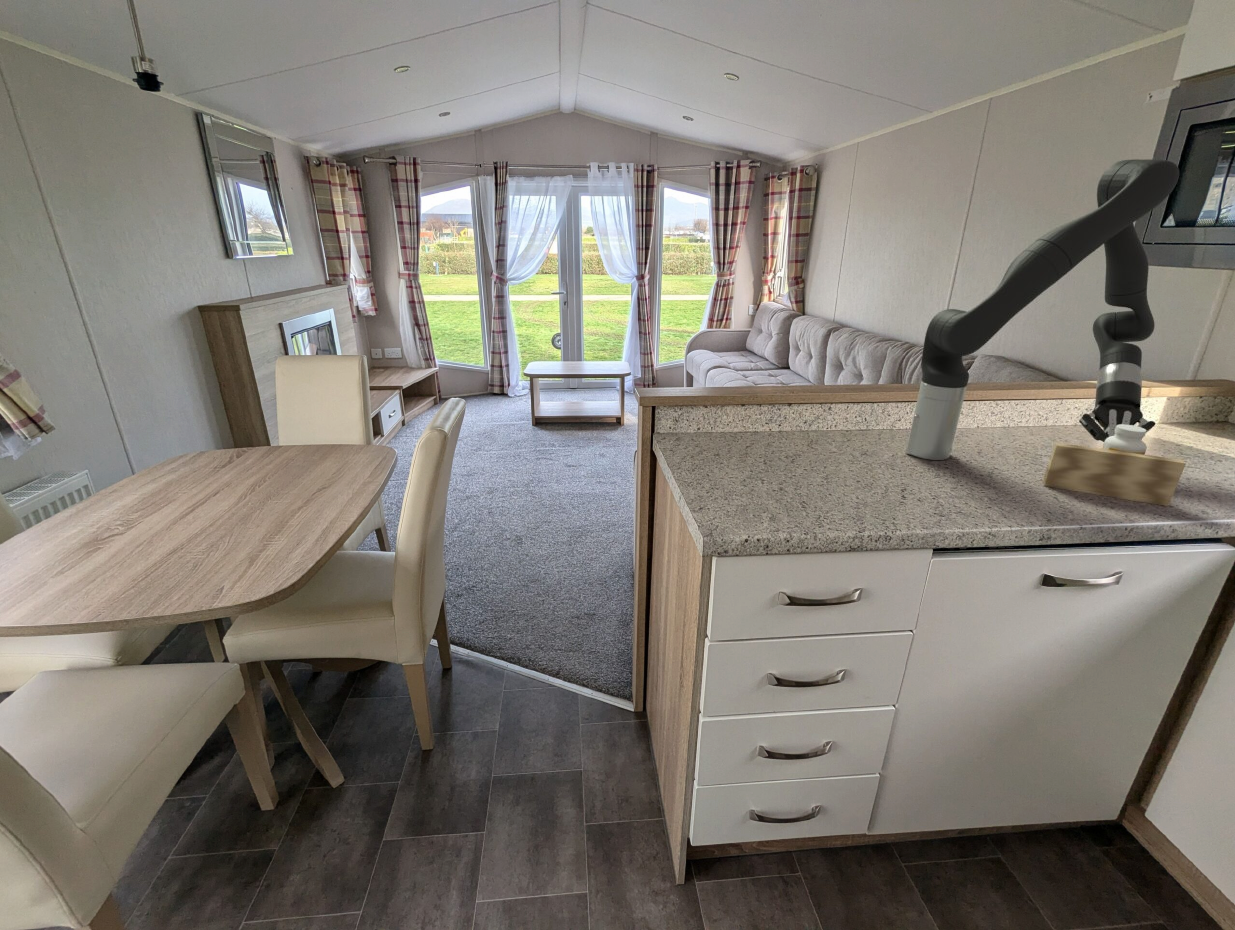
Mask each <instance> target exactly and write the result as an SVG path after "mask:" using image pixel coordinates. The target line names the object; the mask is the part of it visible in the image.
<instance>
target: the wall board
mask: <svg viewBox="0 0 1235 930" xmlns="http://www.w3.org/2000/svg"><path fill="white" fill-rule="evenodd" d="M1186 465H1187V463H1186V462H1185V461H1184V460H1183V459H1179V458H1171V457H1165V456H1164V457H1163V456H1157V455H1150V454H1149V455H1148V454H1144V455H1143V454H1136V453H1128V452H1121V451H1114V450H1106V449H1102V448H1098V447H1090V446H1084V445H1083V446H1082V445H1077V444H1076V445H1075V444H1071V443H1070V444H1069V443H1064V442H1063V443H1061V442H1055V443H1054V445H1053V448H1052V451H1051V455H1050V458H1049V461H1048V464H1047V467H1046V470H1045V472H1044V473H1045V474H1044V476H1043V480H1042V484H1043V486H1044V487H1049V488H1056V489H1062V490H1067V491H1074V492H1079V493H1085V494H1090V495H1091V494H1092V495H1099V496H1103V497H1110V498H1116V499H1122V500H1127V501H1128V500H1129V501H1132V502H1133V501H1135V502H1140V503H1146V504H1152V505H1159V506H1164V507H1169V505H1170V503H1171V500H1172V498H1173V496H1174V493H1175V491H1176V489H1177V486H1178V484H1179V481H1180V479H1181V477H1182V474H1183V472H1184V470H1185V467H1186Z"/></svg>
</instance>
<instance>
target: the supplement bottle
mask: <svg viewBox="0 0 1235 930" xmlns="http://www.w3.org/2000/svg"><path fill="white" fill-rule="evenodd" d="M1137 426H1138V425H1137ZM1137 426H1136V425H1134V426H1133V425H1125V424H1120V425H1117V426H1116V428H1115V435H1114V436H1110V437H1108V438H1107V439H1106V440H1105V441H1104V442H1103V445H1102V447H1101V449H1106V450H1114V451H1121V452H1128V453H1136V454H1143V455H1146V453H1147V452H1146V451H1147V444H1146V442H1144V441H1143V440H1142V439H1143V438H1144V437H1145V436H1146V434H1147V433H1146V429H1144V428H1141V427H1137Z"/></svg>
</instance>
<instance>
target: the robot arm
mask: <svg viewBox="0 0 1235 930" xmlns="http://www.w3.org/2000/svg"><path fill="white" fill-rule="evenodd" d="M1179 177H1180V169H1179V167H1178V164H1176V163H1174V162H1173V161H1170V160H1166V159H1156V158H1155V159H1154V158H1153V159H1148V158H1147V159H1137V158H1134V159H1123V160H1119V161H1117V162H1114V163H1113V164H1112V165H1110V166H1109V167H1108V168H1107V169H1106V170H1105V171H1104V172H1103V174H1102V175H1101V177H1100V179H1099V181H1098V184H1097V188H1096V201H1097V202H1096V203H1097V208H1096V209H1093V211H1091V212H1089V213H1087V214H1084V215H1082V216H1080V217H1078V218H1076V219H1073V220H1071V221H1069V222H1067V223H1065V224H1062V225H1059V226H1058V227H1056V228H1054V229H1052V230H1050V231H1048V232H1046V233H1045V234H1043V235H1041V236H1040V237H1039V238H1038V239H1036V240H1035V241H1033V243H1031V244H1030V245H1029V246H1028V247H1027V248H1026V249H1024V250H1023V251H1022V252H1021V253H1020V254H1019V255H1017V256H1016V257H1015V258H1014V259H1013V261H1012V262H1011V263H1010V265H1009V266H1008V268H1007V269H1006V271H1005V273H1004V276H1003V277H1002V279H1001V282H1000V283H999V285H998V287H997V288H996V289H995V290H994V291H993V292H992V293H991V294H990V295H989V296H988V297H986V298H984V299H983V300H982V301H981V302H980V303H979V304H977V305H976V306H974V307H973V308H971V309H970V310H968V311H966V310H961V309H956V308H948V309H943V310H941V311H939V312H937V314H935V315H934V316H933V317H932V319H931V320H930V322H929V323H928V325H927V326H928V327H927V329H926V332H925V336H924V341H923V342H924V343H923V348H922V354H921V361H920V364H921V365H920V368H921V373H922V374H921V375H922V376H921V381H920V386H919V390H918V395H917V399H916V405H915V409H914V411H913V412H914V413H913V418H912V423H911V427H910V431H909V435H908V436H909V437H908V442H907V447H906V450H905V454H907V455H911V456H914V457H916V458H920V459H924V460H932V461H941V460H947V459H949V458H950V456H951V452H952V449H953V444H954V441H955V438H956V437H955V436H956V432H957V429H958V424H959V420H960V416H961V413H962V408H963V404H964V399H965V395H966V392H967V389H968V383H969V380H970V373H969V371H968V370H967V368H966V367H965V365H964V362H963V357H965V356H969V355H971V354H974V353H975V352H977V351H978V350H980V349H981V348H982V347H984V346H985V345H986V344H987V343H988V342H989V341H990V340H991V339H992V338H993V337H994V336H995V335H997V333H998V332H1000V330H1001V329H1002V328H1004V326H1005V325H1007V323H1008V322H1010V321H1011V319H1013V318H1014V317H1015V316H1016V315H1017V314H1019V313H1020V312H1021V311H1022V310H1023V309H1024V308H1026V307H1027V306H1028V305H1029V304H1031V302H1033V301H1034V300H1035V299H1037V298H1038V297H1039V296H1040V295H1041V294H1043V293H1044V292H1045V291H1047V290H1048V289H1049V288H1050V287H1052V286H1054V284H1056V283H1057V282H1058V281H1059V280H1062V279H1061V278H1063V277H1064V276H1065V275H1067V274H1068V273H1069V272H1071V271H1072V270H1073V269H1074V268H1075V267H1076V266H1077V265H1079V264H1080V263H1081V262H1083V260H1084V259H1086V258H1088V256H1090V255H1091V254H1093V253H1094V252H1095V251H1096V250H1098V249H1099V248H1100V247H1102V246H1104V247H1103V248H1104V253H1105V255H1104V256H1105V277H1104V279H1105V282H1104V302H1105V303H1106V304H1107V305H1108V306H1111V307H1118V308H1127V309H1130V310H1124V311H1114V312H1113V311H1112V312H1106V313H1105V312H1104V313H1102V314H1100V315H1099V316H1097V318H1095V320H1094V321H1093V324H1092V333H1093V337H1094V339H1095V342H1096V344H1097V347H1098V350H1099V370H1098V376H1097V380H1096V384H1095V400H1094V401H1095V402H1094V408H1093V410H1092V411H1091V412H1090V413H1084V414H1083V415H1082V416H1081V417H1080V419H1078V421H1079V422H1078V423H1079V424H1081V426H1082V427H1083V428H1084V430H1086V431H1087V433H1088V434H1090V437H1092V438H1093V439H1094V440H1095V441H1101V442H1103V443H1104V441H1105V440H1106V439H1107V438H1108V437H1110V436H1114V435H1115V428H1116V426H1117V425H1120V424H1125V425H1133V426H1136V424H1138V425H1137V427H1141V428H1144V429H1146V434H1147V433H1148V432H1149V431H1151V430H1152V429H1153V428H1154V427H1156V421H1154V420H1150V421H1149V420H1147V419H1146V418H1144V414H1143V412H1142V409H1141V406H1142V402H1141V401H1142V388H1143V387H1142V385H1143V376H1142V375H1143V374H1142V361H1143V360H1142V356H1143V353H1142V349H1141V348H1140V347H1139V346H1138V345H1136V344H1133V343H1136V342H1142V341H1145V340H1147V339H1149V338H1150V337H1151V335H1152V334H1153V333H1154V330H1155V324H1156V323H1155V319H1154V316H1153V313H1152V311H1151V308H1150V305H1149V302H1148V294H1147V293H1148V280H1149V269H1150V268H1149V261H1148V256H1147V253H1146V251H1145V248H1144V247H1143V245H1142V243H1141V240H1140V238H1139V236H1138V234H1137V231H1136V228H1135V224H1134V223H1135V222H1136V221H1138V220H1139V219H1141V218H1142V217H1144V216H1145V215H1147V214H1148V213H1150V212H1151V211H1152V210H1155V208H1157V207H1158V206H1160V205H1161V203H1163V202H1164V201H1165V200H1166V199H1167V198H1168V197H1169V195H1171V194H1172V192H1173V190H1174V189H1175V187H1176V185H1177V184H1178V180H1179Z"/></svg>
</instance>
